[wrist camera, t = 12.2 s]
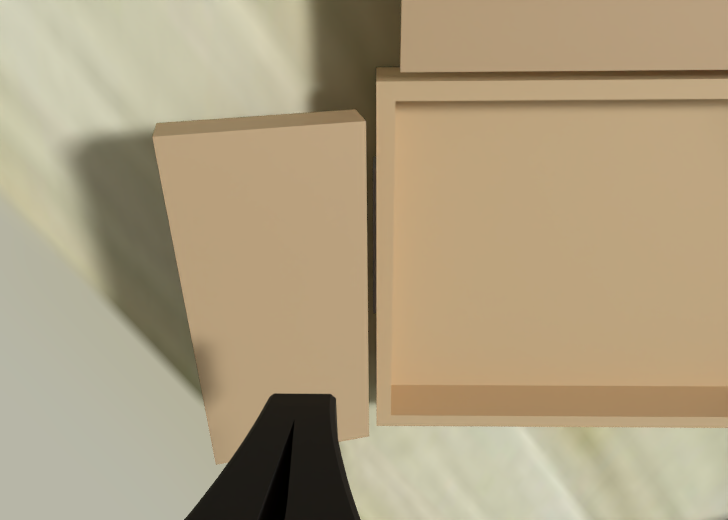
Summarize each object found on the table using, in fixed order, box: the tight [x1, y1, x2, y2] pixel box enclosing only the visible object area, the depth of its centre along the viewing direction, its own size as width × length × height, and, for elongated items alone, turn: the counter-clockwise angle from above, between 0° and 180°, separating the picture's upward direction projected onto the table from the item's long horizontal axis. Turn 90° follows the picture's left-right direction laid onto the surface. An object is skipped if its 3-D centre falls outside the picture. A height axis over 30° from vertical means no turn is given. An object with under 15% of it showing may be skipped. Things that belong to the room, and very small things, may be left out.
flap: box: [152, 109, 369, 465], centre depth 16 cm, size 11×1×5 cm
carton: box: [373, 0, 728, 428], centre depth 17 cm, size 16×16×2 cm
